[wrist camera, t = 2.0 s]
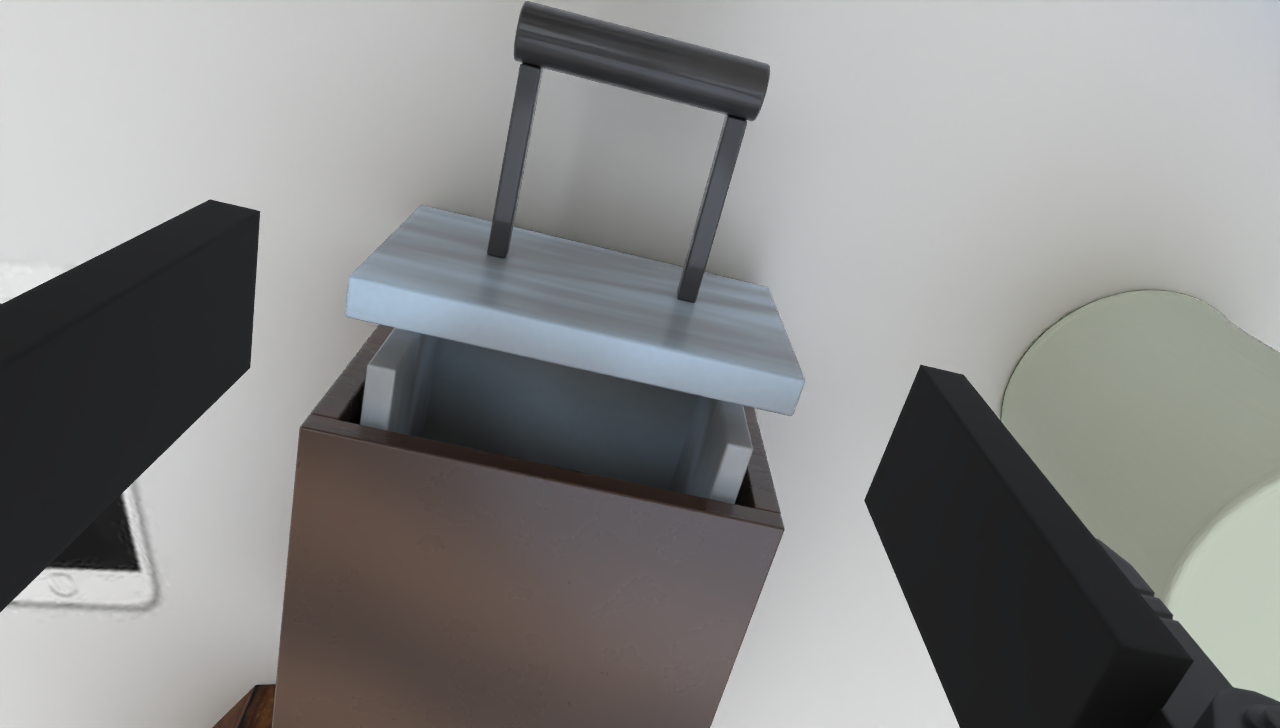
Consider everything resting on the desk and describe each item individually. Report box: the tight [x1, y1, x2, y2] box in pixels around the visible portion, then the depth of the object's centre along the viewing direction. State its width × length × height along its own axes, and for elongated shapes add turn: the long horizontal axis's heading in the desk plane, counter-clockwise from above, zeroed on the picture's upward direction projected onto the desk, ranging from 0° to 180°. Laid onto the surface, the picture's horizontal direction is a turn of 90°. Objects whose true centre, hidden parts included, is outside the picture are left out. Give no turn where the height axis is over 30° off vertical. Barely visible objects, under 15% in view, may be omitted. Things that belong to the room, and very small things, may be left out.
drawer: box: [345, 1, 805, 504], centre depth 28 cm, size 22×12×8 cm, turn 166°
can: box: [1001, 290, 1280, 702], centre depth 28 cm, size 9×9×12 cm
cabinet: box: [272, 324, 784, 728], centre depth 31 cm, size 16×14×10 cm
